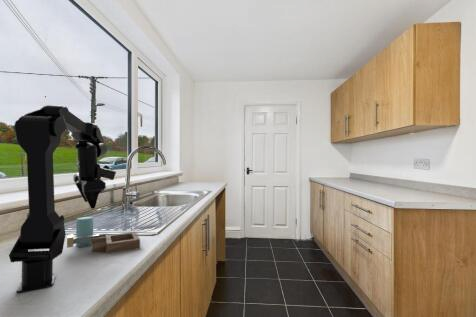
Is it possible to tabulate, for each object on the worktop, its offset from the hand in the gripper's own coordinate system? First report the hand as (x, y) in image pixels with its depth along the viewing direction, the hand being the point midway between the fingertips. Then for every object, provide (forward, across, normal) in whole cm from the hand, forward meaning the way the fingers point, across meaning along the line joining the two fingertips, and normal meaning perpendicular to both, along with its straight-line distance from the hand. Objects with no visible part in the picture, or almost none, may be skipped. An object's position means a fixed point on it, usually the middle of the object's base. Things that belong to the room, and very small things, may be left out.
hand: (89, 204), depth 87 cm
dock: (+13, -11, -5) cm, 18 cm away
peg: (+13, -2, +2) cm, 14 cm away
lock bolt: (+10, -9, +4) cm, 14 cm away
